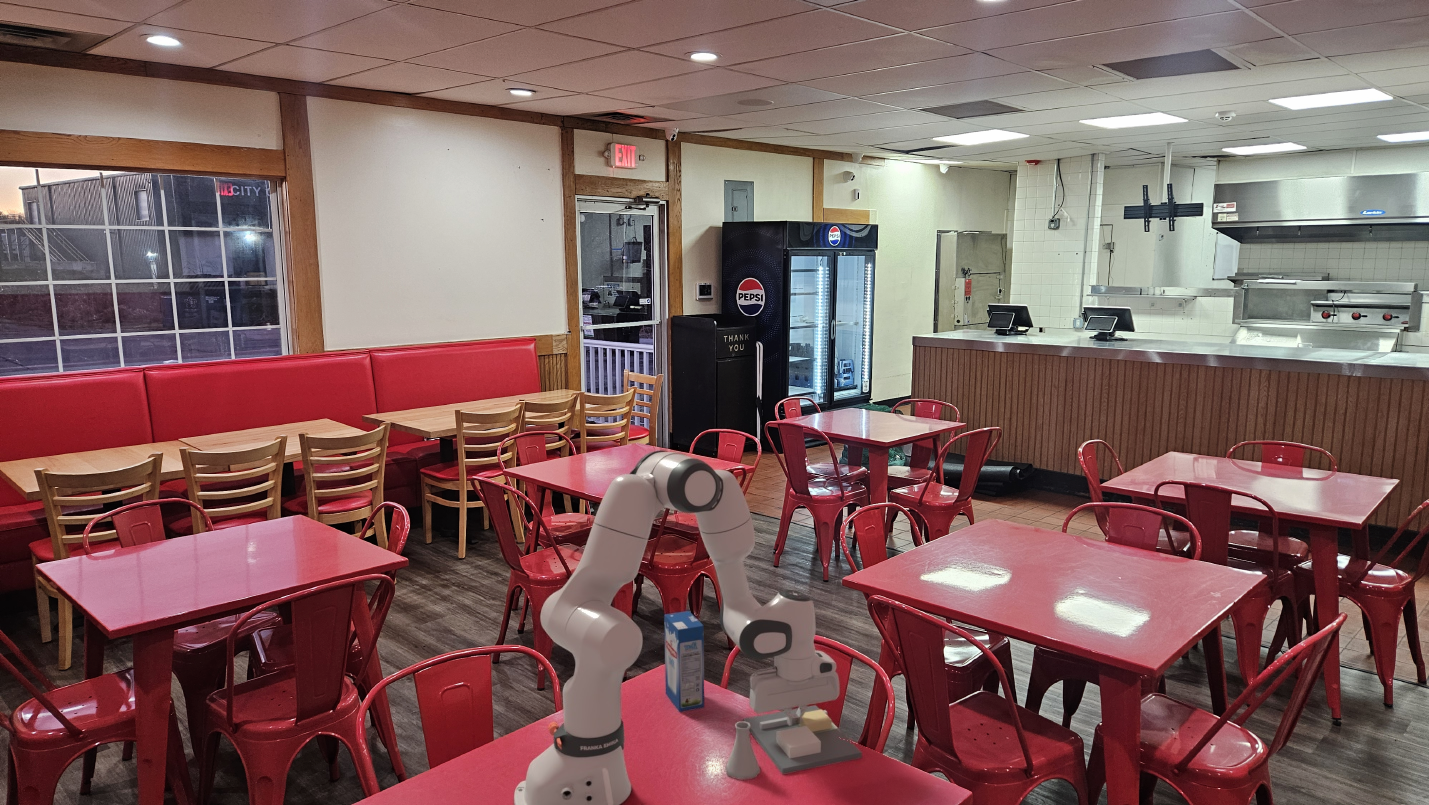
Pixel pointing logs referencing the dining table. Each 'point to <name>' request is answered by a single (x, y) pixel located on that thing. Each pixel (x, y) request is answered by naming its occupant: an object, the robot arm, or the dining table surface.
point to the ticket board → (804, 762)
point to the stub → (816, 720)
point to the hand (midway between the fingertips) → (794, 723)
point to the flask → (742, 755)
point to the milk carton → (684, 660)
